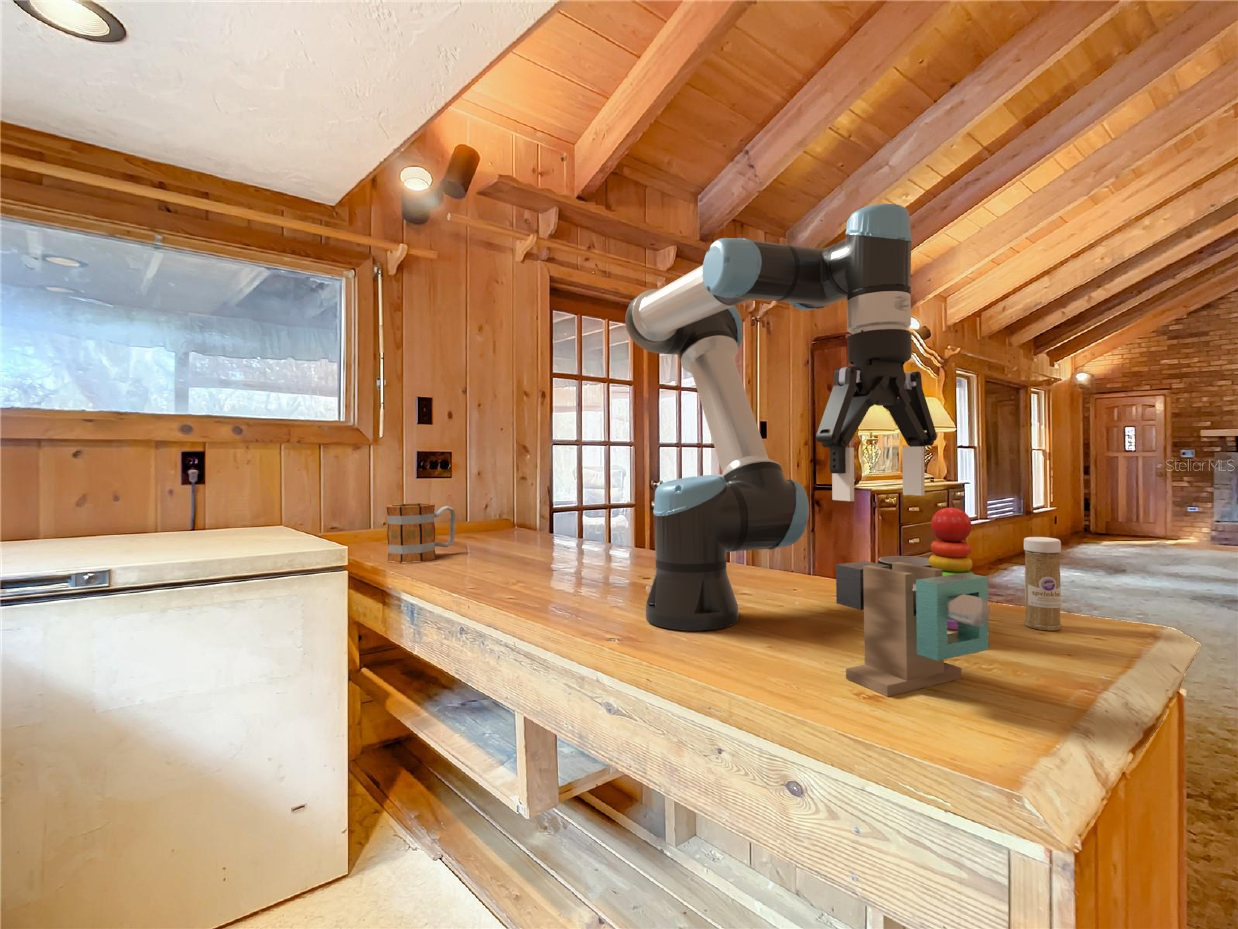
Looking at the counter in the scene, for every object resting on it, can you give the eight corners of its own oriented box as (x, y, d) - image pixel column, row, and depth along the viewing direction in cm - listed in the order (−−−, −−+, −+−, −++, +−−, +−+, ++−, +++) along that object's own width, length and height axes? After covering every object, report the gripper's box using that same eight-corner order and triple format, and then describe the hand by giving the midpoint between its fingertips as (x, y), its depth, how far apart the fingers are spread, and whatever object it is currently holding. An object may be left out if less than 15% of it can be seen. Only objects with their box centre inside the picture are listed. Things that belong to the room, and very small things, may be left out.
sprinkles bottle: (1038, 632, 88) (1037, 540, 88) (1017, 623, 92) (1016, 536, 92) (1069, 631, 88) (1068, 539, 88) (1047, 622, 92) (1046, 535, 92)
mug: (396, 565, 157) (395, 507, 156) (379, 559, 167) (377, 505, 167) (466, 556, 169) (465, 503, 169) (445, 551, 180) (444, 501, 179)
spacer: (916, 654, 64) (916, 579, 64) (967, 643, 68) (966, 573, 68) (937, 661, 62) (936, 584, 62) (988, 650, 65) (987, 576, 65)
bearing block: (846, 678, 71) (844, 568, 71) (917, 662, 76) (916, 559, 76) (887, 696, 66) (885, 577, 66) (961, 678, 71) (960, 567, 70)
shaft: (836, 603, 77) (835, 564, 77) (865, 598, 79) (864, 561, 79) (963, 639, 61) (962, 590, 61) (995, 633, 63) (995, 585, 63)
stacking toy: (930, 646, 83) (928, 510, 82) (910, 629, 90) (908, 505, 90) (992, 647, 81) (990, 509, 81) (966, 630, 89) (964, 505, 89)
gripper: (833, 317, 68) (835, 505, 68) (965, 334, 80) (966, 494, 80) (785, 329, 74) (787, 500, 75) (914, 344, 86) (914, 491, 87)
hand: (879, 497), depth 77 cm, fingers open, 13 cm apart
